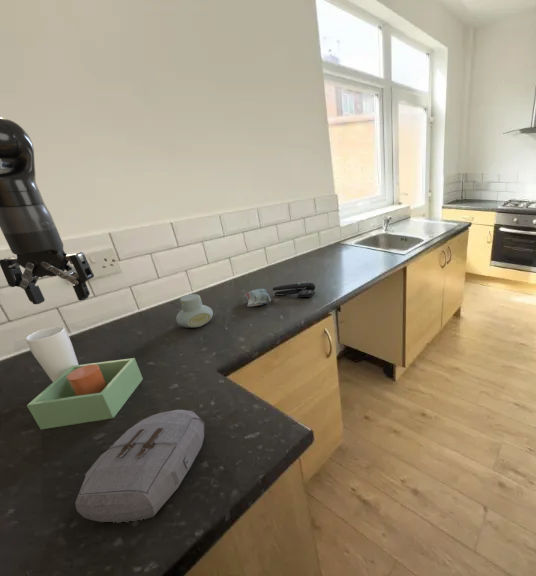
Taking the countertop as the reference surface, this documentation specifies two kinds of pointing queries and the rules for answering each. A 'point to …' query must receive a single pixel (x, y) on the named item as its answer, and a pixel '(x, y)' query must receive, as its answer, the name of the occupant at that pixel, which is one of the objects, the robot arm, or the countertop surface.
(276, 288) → the can opener
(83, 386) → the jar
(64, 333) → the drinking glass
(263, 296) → the packaged food
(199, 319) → the air freshener
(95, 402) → the box
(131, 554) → the countertop surface
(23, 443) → the countertop surface
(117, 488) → the small grey backpack
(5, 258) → the robot arm
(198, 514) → the countertop surface
